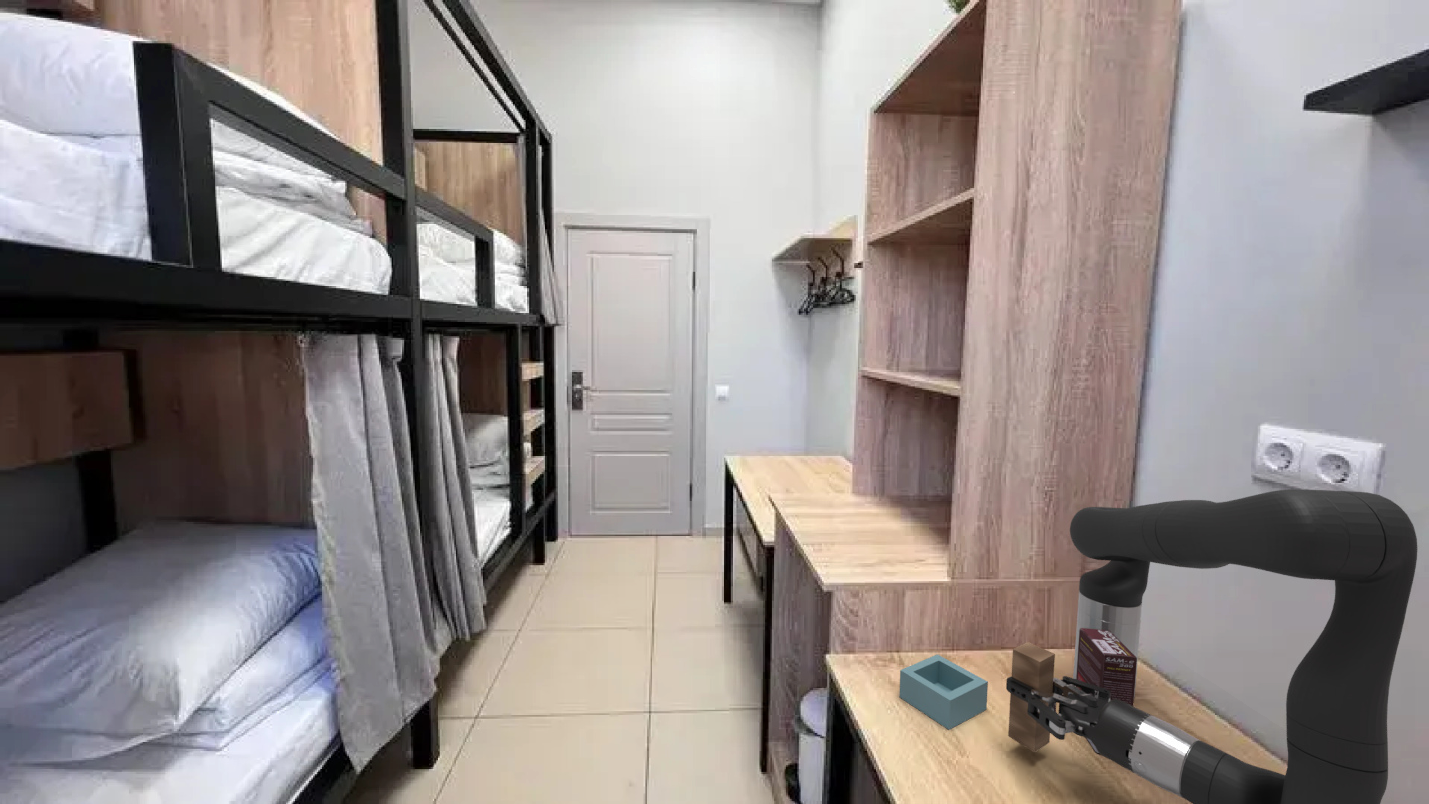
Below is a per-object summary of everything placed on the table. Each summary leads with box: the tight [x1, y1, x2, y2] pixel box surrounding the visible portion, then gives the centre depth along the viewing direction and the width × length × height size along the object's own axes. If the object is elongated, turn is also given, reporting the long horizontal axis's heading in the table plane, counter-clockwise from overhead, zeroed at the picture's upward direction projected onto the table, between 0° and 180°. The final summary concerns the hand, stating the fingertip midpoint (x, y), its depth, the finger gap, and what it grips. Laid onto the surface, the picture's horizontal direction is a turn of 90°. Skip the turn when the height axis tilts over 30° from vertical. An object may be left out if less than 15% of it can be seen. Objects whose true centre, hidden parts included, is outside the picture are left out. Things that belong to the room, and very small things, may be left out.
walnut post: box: [1007, 641, 1056, 753], centre depth 84 cm, size 4×4×14 cm
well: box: [898, 653, 989, 731], centre depth 97 cm, size 10×10×5 cm
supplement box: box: [1076, 628, 1138, 754], centre depth 88 cm, size 9×5×16 cm, turn 168°
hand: (1017, 678), depth 86 cm, fingers closed on walnut post, 4 cm apart
